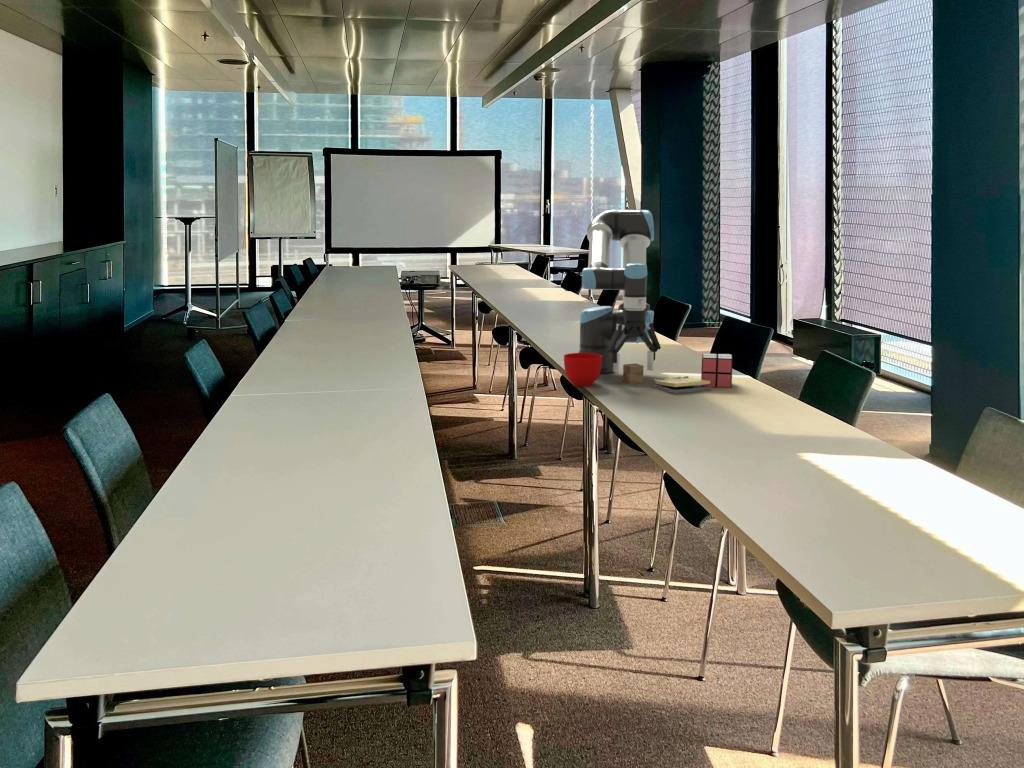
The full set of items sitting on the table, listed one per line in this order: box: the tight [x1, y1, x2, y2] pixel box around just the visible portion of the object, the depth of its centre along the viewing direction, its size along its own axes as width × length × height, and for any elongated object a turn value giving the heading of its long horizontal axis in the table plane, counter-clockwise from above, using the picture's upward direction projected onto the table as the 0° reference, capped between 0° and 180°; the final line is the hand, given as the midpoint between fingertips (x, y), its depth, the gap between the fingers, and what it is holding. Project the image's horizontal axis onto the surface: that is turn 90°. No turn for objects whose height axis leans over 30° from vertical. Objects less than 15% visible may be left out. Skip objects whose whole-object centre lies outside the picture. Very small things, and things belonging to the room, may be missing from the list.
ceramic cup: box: [563, 352, 602, 388], centre depth 326 cm, size 13×17×10 cm
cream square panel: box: [656, 376, 710, 387], centre depth 318 cm, size 14×13×2 cm
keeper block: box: [622, 363, 645, 385], centre depth 330 cm, size 5×5×6 cm
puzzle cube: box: [700, 353, 733, 389], centre depth 325 cm, size 10×10×10 cm
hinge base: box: [651, 376, 711, 395], centre depth 319 cm, size 14×13×3 cm
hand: (633, 371), depth 329 cm, fingers open, 13 cm apart
